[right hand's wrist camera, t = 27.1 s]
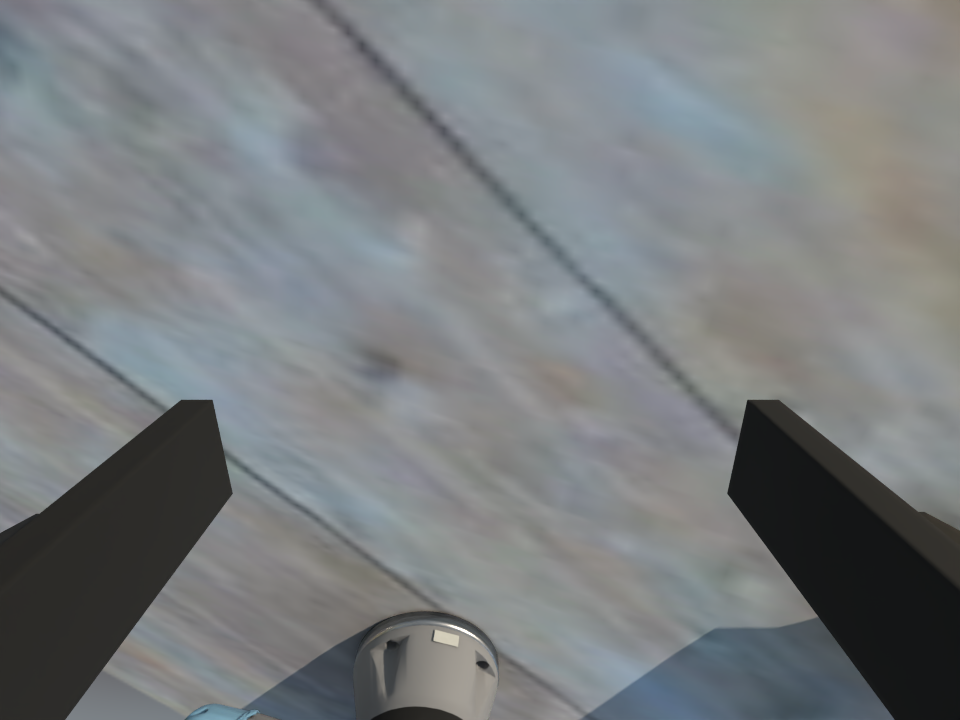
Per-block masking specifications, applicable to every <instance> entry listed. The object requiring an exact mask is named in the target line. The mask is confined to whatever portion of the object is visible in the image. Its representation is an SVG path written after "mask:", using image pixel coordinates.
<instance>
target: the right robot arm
mask: <svg viewBox="0 0 960 720" xmlns="http://www.w3.org/2000/svg"><path fill="white" fill-rule="evenodd" d="M232 494H233V493H232V488H231V484H230V479H229V474H228V470H227V465H226V460H225V456H224V451H223V446H222V442H221V437H220V432H219V428H218V423H217V418H216V414H215V409H214V405H213V400H181V401H179V402H178V403H177V404H176V405H174V406H173V407H172V408H171V409H169V410H168V411H167V412H166V413H164V414H163V415H162V416H161V417H159V418H158V419H157V420H156V421H154V422H153V423H152V424H151V425H149V426H148V427H147V428H146V429H145V430H143V431H142V432H141V433H140V434H138V435H137V436H136V437H135V438H133V439H132V440H131V441H130V442H128V443H127V444H126V445H125V446H123V447H122V448H121V449H120V450H118V451H117V452H116V453H115V454H113V455H112V456H111V457H110V458H108V459H107V460H106V461H105V462H103V463H102V464H101V465H100V466H99V467H97V468H96V469H95V470H94V471H92V472H91V473H90V474H89V475H87V476H86V477H85V478H84V479H82V480H81V481H80V482H79V483H77V484H76V485H75V486H74V487H72V488H71V489H70V490H69V491H67V492H66V493H65V494H64V495H62V496H61V497H60V498H59V499H57V500H56V501H55V502H54V503H53V504H51V505H50V506H49V507H48V508H46V509H45V510H44V511H43V512H41V513H40V514H35V515H33V516H31V517H29V518H28V519H26V520H24V521H22V522H20V523H18V524H16V525H15V526H13V527H11V528H9V529H7V530H5V531H3V532H1V533H0V720H65V719H66V718H67V716H68V715H69V714H70V712H71V711H72V710H73V708H74V707H75V706H76V704H77V703H78V702H79V700H80V699H81V698H82V696H83V695H84V694H85V692H86V691H87V689H88V688H89V687H90V685H91V684H92V683H93V681H94V680H95V679H96V677H97V676H98V675H99V673H100V672H101V671H102V669H103V668H104V667H105V665H106V664H107V662H108V661H109V660H110V658H111V657H112V656H113V654H114V653H115V652H116V650H117V649H118V648H119V646H120V645H121V644H122V642H123V641H124V640H125V638H126V637H127V635H128V634H129V633H130V631H131V630H132V629H133V627H134V626H135V625H136V623H137V622H138V621H139V619H140V618H141V617H142V615H143V614H144V613H145V611H146V610H147V608H148V607H149V606H150V604H151V603H152V602H153V600H154V599H155V598H156V596H157V595H158V594H159V592H160V591H161V590H162V588H163V587H164V586H165V584H166V583H167V581H168V580H169V579H170V577H171V576H172V575H173V573H174V572H175V571H176V569H177V568H178V567H179V565H180V564H181V563H182V561H183V560H184V559H185V557H186V556H187V554H188V553H189V552H190V550H191V549H192V548H193V546H194V545H195V544H196V542H197V541H198V540H199V538H200V537H201V536H202V534H203V533H204V532H205V530H206V529H207V527H208V526H209V525H210V523H211V522H212V521H213V519H214V518H215V517H216V515H217V514H218V513H219V511H220V510H221V509H222V507H223V506H224V505H225V503H226V502H227V500H228V499H229V498H230V496H231V495H232ZM727 494H728V495H729V496H730V498H731V499H732V500H733V502H734V503H735V505H736V506H737V507H738V509H739V510H740V511H741V513H742V514H743V515H744V517H745V518H746V519H747V521H748V522H749V523H750V525H751V526H752V527H753V529H754V530H755V532H756V533H757V534H758V536H759V537H760V538H761V540H762V541H763V542H764V544H765V545H766V546H767V548H768V549H769V550H770V552H771V553H772V554H773V556H774V557H775V559H776V560H777V561H778V563H779V564H780V565H781V567H782V568H783V569H784V571H785V572H786V573H787V575H788V576H789V577H790V579H791V580H792V581H793V583H794V584H795V586H796V587H797V588H798V590H799V591H800V592H801V594H802V595H803V596H804V598H805V599H806V600H807V602H808V603H809V604H810V606H811V607H812V608H813V610H814V611H815V613H816V614H817V615H818V617H819V618H820V619H821V621H822V622H823V623H824V625H825V626H826V627H827V629H828V630H829V631H830V633H831V634H832V635H833V637H834V638H835V640H836V641H837V642H838V644H839V645H840V646H841V648H842V649H843V650H844V652H845V653H846V654H847V656H848V657H849V658H850V660H851V661H852V662H853V664H854V665H855V667H856V668H857V669H858V671H859V672H860V673H861V675H862V676H863V677H864V679H865V680H866V681H867V683H868V684H869V685H870V687H871V688H872V689H873V691H874V692H875V694H876V695H877V696H878V698H879V699H880V700H881V702H882V703H883V704H884V706H885V707H886V708H887V710H888V711H889V712H890V714H891V715H892V716H893V718H894V719H895V720H960V531H959V530H957V529H955V528H953V527H952V526H950V525H948V524H946V523H944V522H942V521H940V520H938V519H936V518H935V517H933V516H931V515H929V514H927V513H925V512H917V511H916V510H915V509H914V508H912V507H911V506H910V505H909V504H907V503H906V502H905V501H904V500H903V499H901V498H900V497H899V496H898V495H896V494H895V493H894V492H893V491H891V490H890V489H889V488H888V487H886V486H885V485H884V484H883V483H881V482H880V481H879V480H878V479H876V478H875V477H874V476H873V475H871V474H870V473H869V472H868V471H866V470H865V469H864V468H863V467H861V466H860V465H859V464H858V463H857V462H855V461H854V460H853V459H852V458H850V457H849V456H848V455H847V454H845V453H844V452H843V451H842V450H840V449H839V448H838V447H837V446H835V445H834V444H833V443H832V442H830V441H829V440H828V439H827V438H825V437H824V436H823V435H822V434H820V433H819V432H818V431H817V430H815V429H814V428H813V427H812V426H811V425H809V424H808V423H807V422H806V421H804V420H803V419H802V418H801V417H799V416H798V415H797V414H796V413H794V412H793V411H792V410H791V409H789V408H788V407H787V406H786V405H784V404H783V403H782V402H781V401H779V400H747V404H746V409H745V414H744V418H743V423H742V428H741V432H740V437H739V442H738V446H737V451H736V456H735V460H734V465H733V470H732V474H731V479H730V484H729V488H728V493H727ZM498 682H499V671H498V657H497V653H496V650H495V648H494V646H493V644H492V642H491V641H490V639H489V638H488V637H487V636H486V635H485V634H484V633H483V632H482V631H481V630H480V629H479V628H477V627H476V626H474V625H473V624H471V623H469V622H468V621H466V620H463V619H461V618H458V617H456V616H452V615H449V614H444V613H439V612H426V611H424V612H410V613H405V614H401V615H397V616H394V617H391V618H389V619H387V620H385V621H383V622H381V623H379V624H378V625H376V626H375V627H374V628H372V629H371V630H370V631H369V632H368V633H367V634H366V635H365V637H364V638H363V640H362V641H361V643H360V645H359V648H358V651H357V655H356V659H355V663H354V667H353V686H354V697H355V709H356V720H488V719H489V715H490V712H491V709H492V705H493V702H494V698H495V695H496V692H497V687H498ZM185 720H280V719H277V718H273V717H270V716H267V715H264V714H260V712H259V711H258V710H255V709H253V710H250V711H247V710H242V709H237V708H233V707H229V706H225V705H220V704H209V705H205V706H202V707H200V708H198V709H197V710H195V711H194V712H192V713H191V714H190V715H189V716H188V717H187V718H186V719H185Z"/></svg>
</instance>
